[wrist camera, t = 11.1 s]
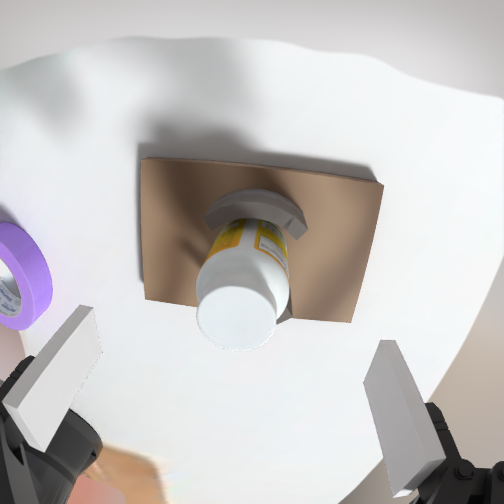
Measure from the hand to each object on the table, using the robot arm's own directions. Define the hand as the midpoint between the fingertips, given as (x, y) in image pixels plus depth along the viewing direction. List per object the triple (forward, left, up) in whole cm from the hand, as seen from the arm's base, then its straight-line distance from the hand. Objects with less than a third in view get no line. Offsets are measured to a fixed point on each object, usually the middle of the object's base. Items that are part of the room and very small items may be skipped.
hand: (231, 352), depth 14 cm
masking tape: (-26, +9, -14) cm, 31 cm away
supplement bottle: (0, 0, -12) cm, 12 cm away
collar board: (0, 0, -13) cm, 13 cm away
